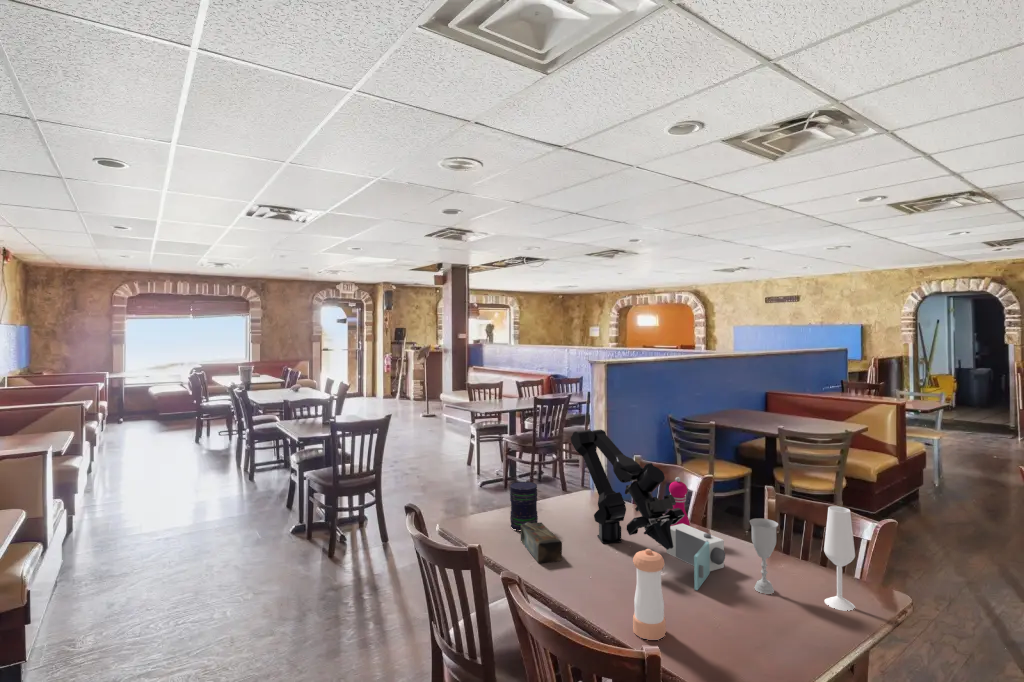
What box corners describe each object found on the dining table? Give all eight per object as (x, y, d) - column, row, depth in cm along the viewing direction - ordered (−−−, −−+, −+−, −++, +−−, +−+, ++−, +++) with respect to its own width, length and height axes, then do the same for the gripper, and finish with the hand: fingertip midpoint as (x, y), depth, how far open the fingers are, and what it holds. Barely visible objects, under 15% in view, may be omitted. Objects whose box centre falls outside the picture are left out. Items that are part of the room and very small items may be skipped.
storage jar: (512, 521, 198) (511, 481, 198) (539, 522, 197) (538, 481, 197) (508, 531, 188) (507, 488, 188) (536, 532, 187) (535, 489, 187)
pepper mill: (687, 532, 185) (686, 474, 185) (692, 540, 178) (691, 480, 178) (665, 531, 186) (665, 474, 186) (669, 539, 179) (669, 479, 179)
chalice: (766, 598, 139) (765, 529, 138) (744, 587, 145) (743, 521, 144) (784, 592, 142) (784, 524, 142) (762, 581, 148) (761, 516, 148)
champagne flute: (818, 597, 139) (818, 505, 139) (845, 597, 139) (844, 504, 138) (833, 610, 132) (833, 513, 132) (861, 611, 132) (861, 513, 132)
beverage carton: (542, 538, 182) (542, 519, 182) (563, 562, 163) (563, 540, 163) (519, 541, 180) (519, 522, 180) (538, 565, 161) (538, 543, 161)
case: (665, 553, 168) (665, 523, 168) (682, 548, 172) (682, 519, 171) (710, 574, 153) (710, 542, 152) (728, 569, 156) (728, 537, 156)
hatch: (706, 572, 153) (706, 541, 153) (713, 574, 152) (712, 542, 152) (694, 589, 144) (694, 556, 144) (701, 591, 143) (701, 557, 142)
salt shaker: (660, 623, 128) (659, 542, 127) (670, 640, 120) (669, 555, 120) (629, 624, 127) (628, 543, 127) (637, 641, 120) (637, 556, 120)
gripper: (633, 490, 155) (660, 542, 145) (680, 481, 164) (709, 529, 154) (615, 509, 162) (640, 560, 153) (661, 500, 171) (688, 546, 162)
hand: (670, 548), depth 155 cm, fingers closed
